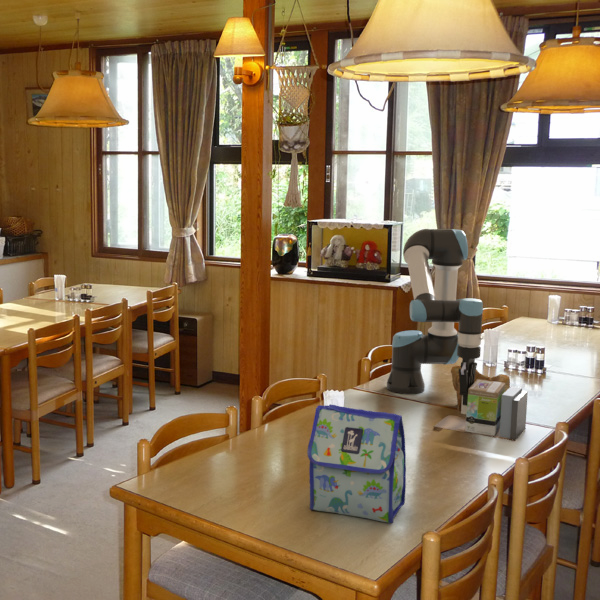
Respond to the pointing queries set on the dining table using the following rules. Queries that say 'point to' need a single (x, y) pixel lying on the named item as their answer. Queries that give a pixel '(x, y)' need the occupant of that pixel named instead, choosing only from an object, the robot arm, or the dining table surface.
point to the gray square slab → (518, 415)
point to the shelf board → (460, 426)
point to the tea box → (484, 407)
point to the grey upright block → (507, 410)
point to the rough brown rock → (479, 376)
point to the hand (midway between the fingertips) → (465, 413)
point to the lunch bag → (357, 463)
